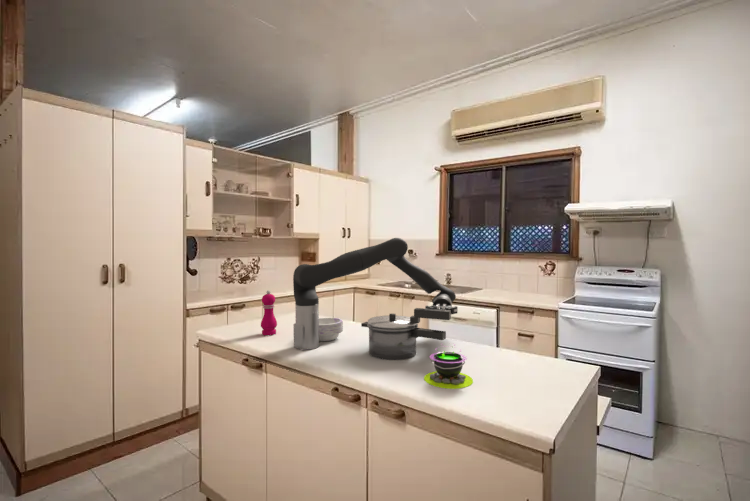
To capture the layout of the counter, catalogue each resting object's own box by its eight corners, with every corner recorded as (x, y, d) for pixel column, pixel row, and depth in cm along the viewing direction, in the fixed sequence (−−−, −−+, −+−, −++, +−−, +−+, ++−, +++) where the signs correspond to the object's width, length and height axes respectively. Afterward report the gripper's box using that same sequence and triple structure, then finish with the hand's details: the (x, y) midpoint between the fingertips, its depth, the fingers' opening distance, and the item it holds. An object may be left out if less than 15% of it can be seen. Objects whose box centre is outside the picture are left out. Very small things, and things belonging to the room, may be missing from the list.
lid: (359, 326, 144) (359, 309, 143) (378, 316, 161) (378, 301, 161) (444, 334, 131) (444, 315, 131) (455, 322, 149) (455, 306, 148)
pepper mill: (274, 335, 175) (274, 291, 174) (258, 335, 175) (258, 291, 174) (279, 332, 182) (278, 289, 181) (263, 332, 182) (263, 289, 181)
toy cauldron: (416, 383, 118) (416, 347, 117) (433, 368, 131) (433, 336, 130) (466, 392, 111) (466, 354, 110) (478, 376, 124) (478, 341, 123)
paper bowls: (303, 336, 174) (303, 318, 173) (336, 332, 180) (336, 315, 180) (313, 345, 160) (313, 325, 160) (348, 340, 166) (347, 322, 166)
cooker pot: (350, 353, 148) (350, 324, 147) (377, 342, 164) (376, 316, 164) (433, 369, 130) (433, 336, 129) (454, 354, 146) (454, 325, 145)
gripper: (426, 296, 161) (421, 303, 144) (458, 296, 158) (458, 304, 141) (426, 314, 161) (422, 323, 144) (458, 315, 159) (458, 324, 142)
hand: (440, 314), depth 143 cm, fingers closed
